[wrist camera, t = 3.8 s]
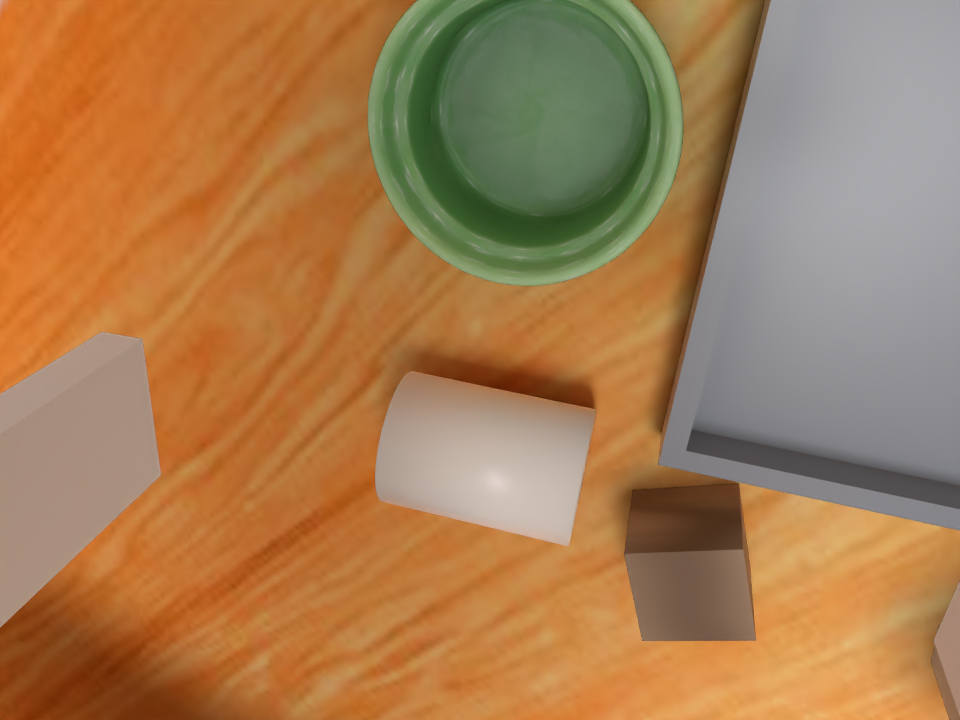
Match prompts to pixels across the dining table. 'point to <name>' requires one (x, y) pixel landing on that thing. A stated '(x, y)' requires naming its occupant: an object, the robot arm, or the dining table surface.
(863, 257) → the tray
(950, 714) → the cup
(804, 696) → the dining table surface
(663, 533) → the walnut block
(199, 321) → the dining table surface
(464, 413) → the canister
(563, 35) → the ramekin
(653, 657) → the dining table surface
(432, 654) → the dining table surface
